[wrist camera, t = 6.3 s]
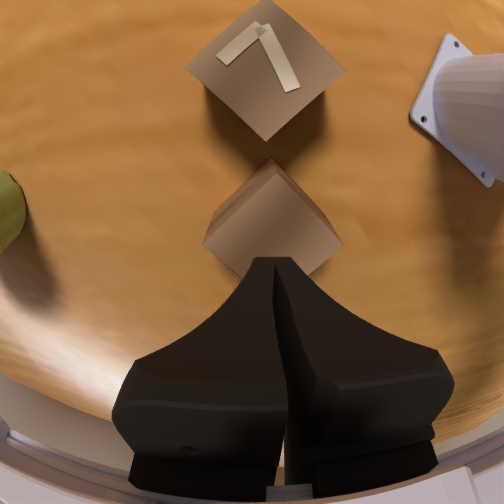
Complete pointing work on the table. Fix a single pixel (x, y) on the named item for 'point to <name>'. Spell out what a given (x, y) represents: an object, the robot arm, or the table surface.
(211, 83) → the block seven
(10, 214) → the plant pot
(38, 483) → the robot arm
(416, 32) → the table surface
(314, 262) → the plain block
